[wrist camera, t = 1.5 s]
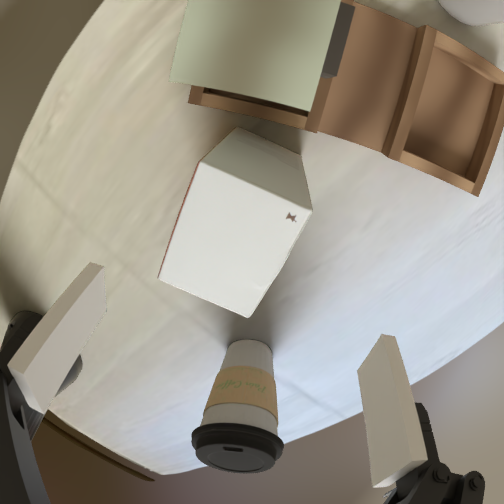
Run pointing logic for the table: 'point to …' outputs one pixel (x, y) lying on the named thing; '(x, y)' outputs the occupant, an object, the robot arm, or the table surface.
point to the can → (475, 11)
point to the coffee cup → (241, 413)
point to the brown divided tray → (347, 79)
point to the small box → (238, 222)
